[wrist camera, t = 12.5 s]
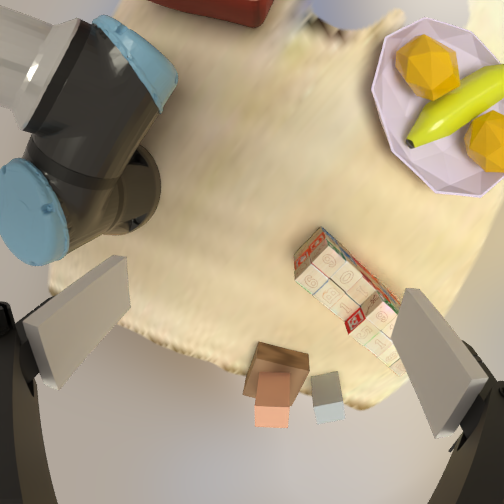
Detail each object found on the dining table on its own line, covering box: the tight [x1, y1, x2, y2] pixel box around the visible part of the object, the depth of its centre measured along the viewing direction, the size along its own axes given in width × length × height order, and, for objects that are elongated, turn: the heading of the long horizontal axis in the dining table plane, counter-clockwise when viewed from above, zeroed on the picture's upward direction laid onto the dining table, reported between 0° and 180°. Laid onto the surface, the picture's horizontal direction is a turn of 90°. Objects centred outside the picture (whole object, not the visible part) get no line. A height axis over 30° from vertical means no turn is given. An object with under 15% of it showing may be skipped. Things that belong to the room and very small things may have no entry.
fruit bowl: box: [371, 17, 504, 198], centre depth 31 cm, size 28×27×11 cm
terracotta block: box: [255, 372, 290, 428], centre depth 45 cm, size 5×5×8 cm
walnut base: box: [243, 342, 310, 406], centre depth 51 cm, size 9×9×5 cm
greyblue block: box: [311, 371, 345, 424], centre depth 49 cm, size 5×5×8 cm
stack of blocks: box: [294, 227, 406, 377], centre depth 41 cm, size 21×6×12 cm, turn 50°
